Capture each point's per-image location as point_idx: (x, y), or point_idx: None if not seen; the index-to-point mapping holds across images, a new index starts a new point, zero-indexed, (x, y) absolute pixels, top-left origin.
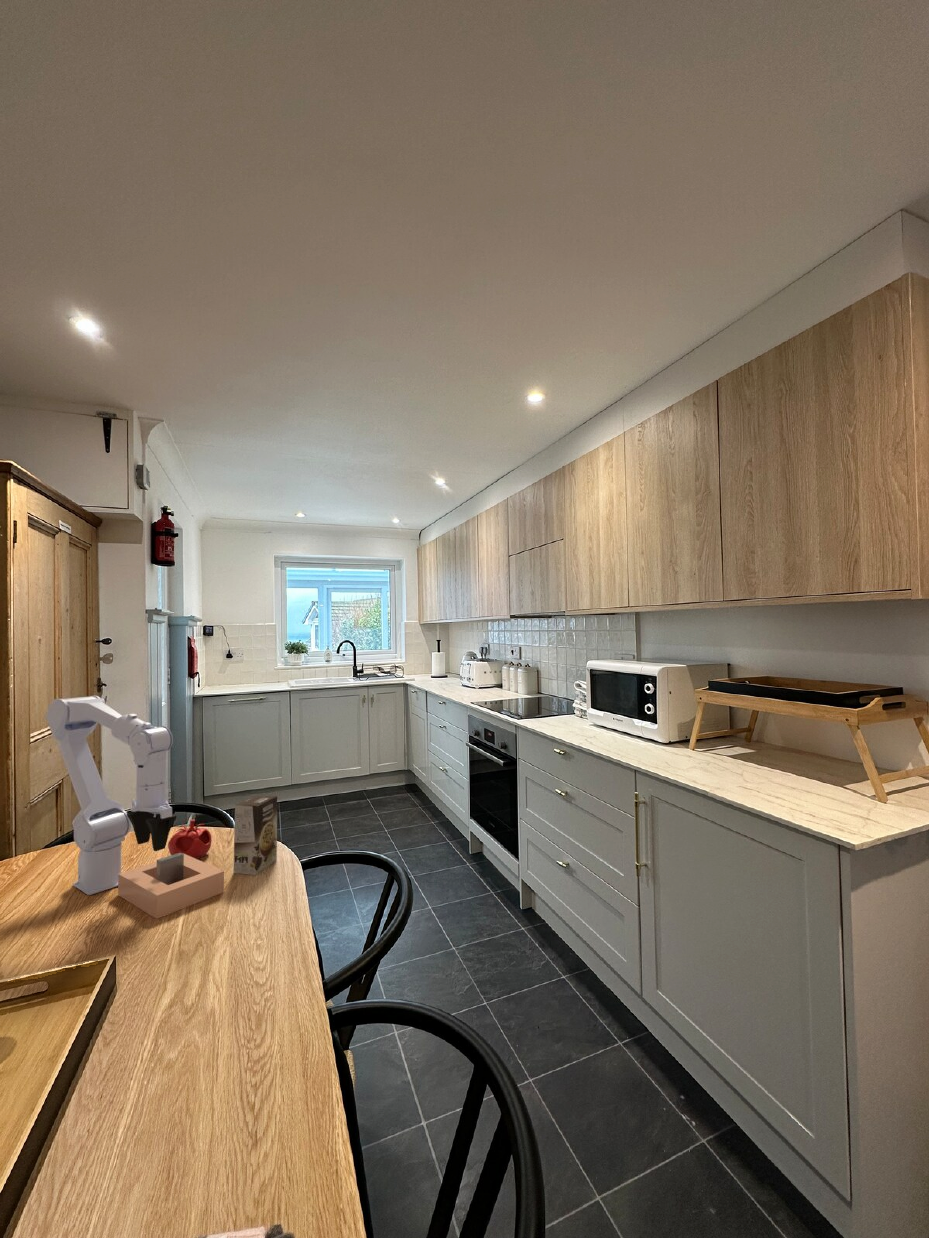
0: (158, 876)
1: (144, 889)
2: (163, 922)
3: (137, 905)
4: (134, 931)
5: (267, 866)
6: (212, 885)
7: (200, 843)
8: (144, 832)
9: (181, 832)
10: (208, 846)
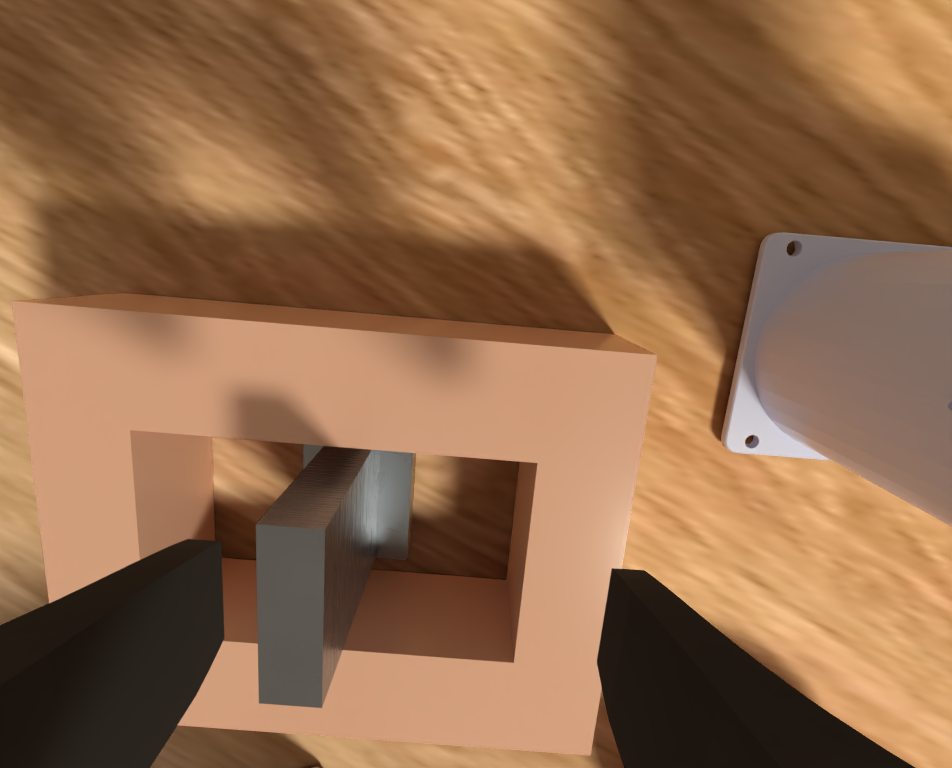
0: (326, 470)
1: (213, 316)
2: (53, 290)
3: (355, 313)
4: (70, 152)
5: None
6: None
7: None
8: (648, 729)
9: None
10: None
